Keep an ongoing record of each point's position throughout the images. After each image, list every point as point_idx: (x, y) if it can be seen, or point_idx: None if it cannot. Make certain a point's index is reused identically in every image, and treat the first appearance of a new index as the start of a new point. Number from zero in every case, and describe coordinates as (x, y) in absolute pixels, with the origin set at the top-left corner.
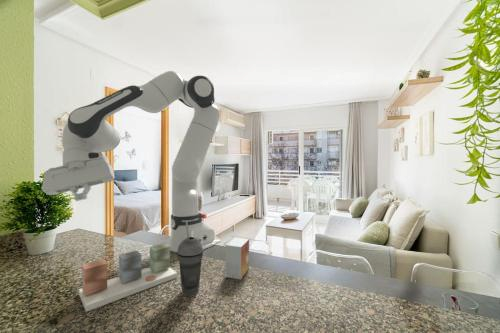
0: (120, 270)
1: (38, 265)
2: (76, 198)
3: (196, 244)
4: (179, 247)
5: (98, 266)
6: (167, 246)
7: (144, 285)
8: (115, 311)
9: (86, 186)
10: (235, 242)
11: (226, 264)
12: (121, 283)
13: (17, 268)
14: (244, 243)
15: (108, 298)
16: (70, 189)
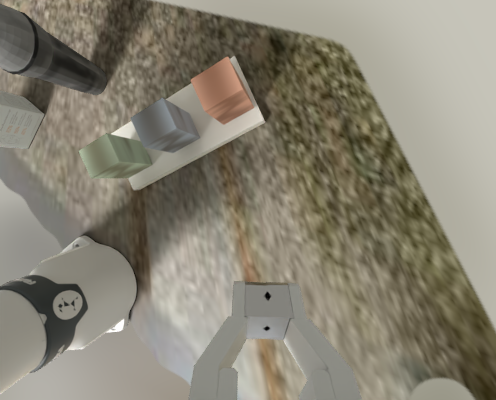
0: (188, 125)
1: (404, 297)
2: (287, 284)
3: None
4: (13, 21)
5: (205, 71)
6: (83, 153)
7: None
8: (194, 51)
9: (204, 370)
10: None
11: (16, 106)
12: (194, 120)
13: (450, 298)
14: None
15: None
16: (353, 383)
